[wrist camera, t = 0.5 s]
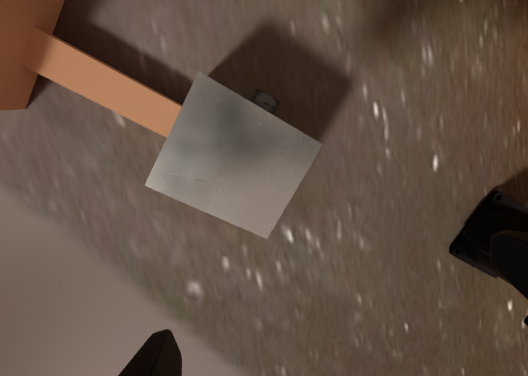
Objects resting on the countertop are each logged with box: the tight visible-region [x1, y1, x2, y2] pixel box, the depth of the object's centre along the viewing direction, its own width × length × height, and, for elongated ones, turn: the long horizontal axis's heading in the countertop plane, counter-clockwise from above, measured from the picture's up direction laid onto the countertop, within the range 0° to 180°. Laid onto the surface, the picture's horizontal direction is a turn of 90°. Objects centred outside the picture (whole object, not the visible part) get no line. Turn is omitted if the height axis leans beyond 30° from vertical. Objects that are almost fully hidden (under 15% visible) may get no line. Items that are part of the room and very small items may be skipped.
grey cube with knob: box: [145, 71, 323, 239], centre depth 16 cm, size 7×7×5 cm
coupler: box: [0, 0, 182, 138], centre depth 14 cm, size 13×7×5 cm, turn 60°
